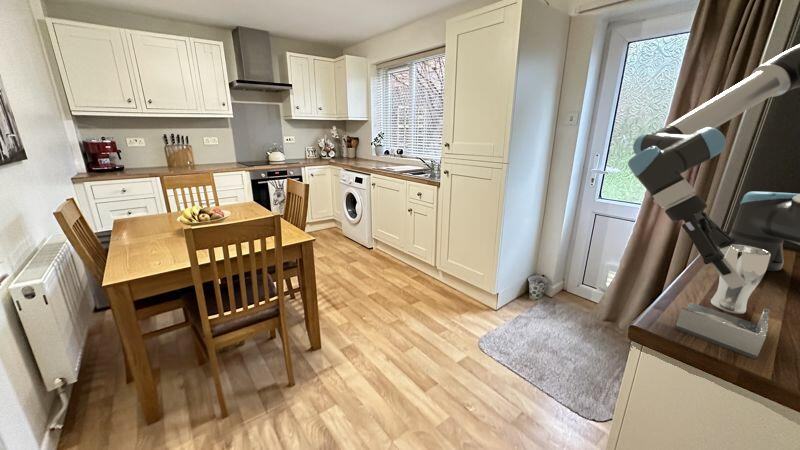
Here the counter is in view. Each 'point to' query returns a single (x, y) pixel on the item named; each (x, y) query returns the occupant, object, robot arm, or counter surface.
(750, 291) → the beer glass
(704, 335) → the tray
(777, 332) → the counter surface
